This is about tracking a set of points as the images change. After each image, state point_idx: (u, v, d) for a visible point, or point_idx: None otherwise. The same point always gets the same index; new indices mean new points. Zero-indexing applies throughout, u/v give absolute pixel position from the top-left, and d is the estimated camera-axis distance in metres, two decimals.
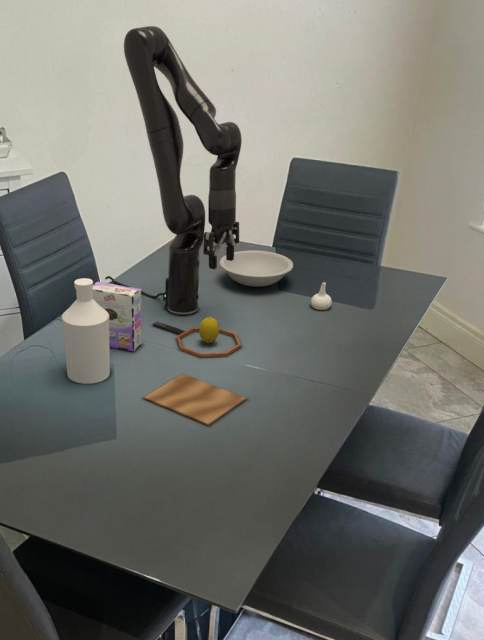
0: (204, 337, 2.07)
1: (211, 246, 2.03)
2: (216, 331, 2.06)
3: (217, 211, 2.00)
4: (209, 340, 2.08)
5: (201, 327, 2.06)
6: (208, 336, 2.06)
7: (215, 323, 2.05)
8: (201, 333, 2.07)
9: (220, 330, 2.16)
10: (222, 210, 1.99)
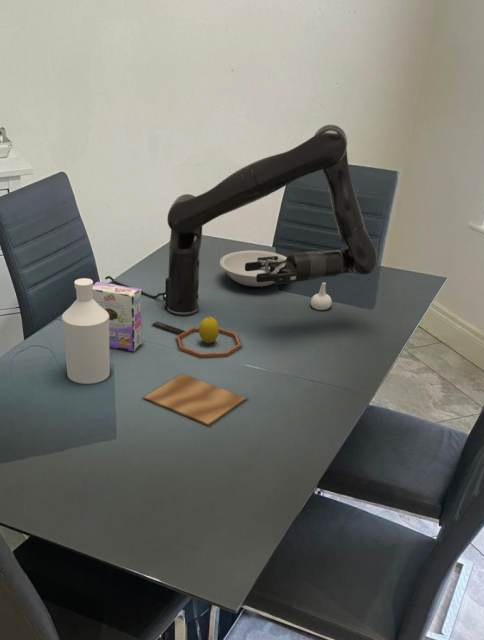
0: (204, 337, 2.07)
1: None
2: (216, 331, 2.06)
3: (308, 274, 2.02)
4: (209, 340, 2.08)
5: (201, 327, 2.06)
6: (208, 336, 2.06)
7: (215, 323, 2.05)
8: (201, 333, 2.07)
9: (220, 330, 2.16)
10: (307, 278, 2.03)
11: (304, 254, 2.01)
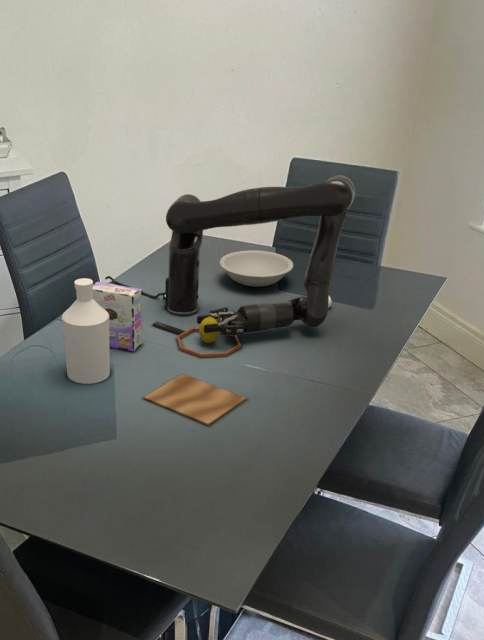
0: (204, 337, 2.07)
1: None
2: None
3: (259, 326, 2.07)
4: (209, 340, 2.08)
5: (201, 327, 2.06)
6: (208, 336, 2.06)
7: None
8: (201, 333, 2.07)
9: None
10: (258, 329, 2.09)
11: (255, 306, 2.07)
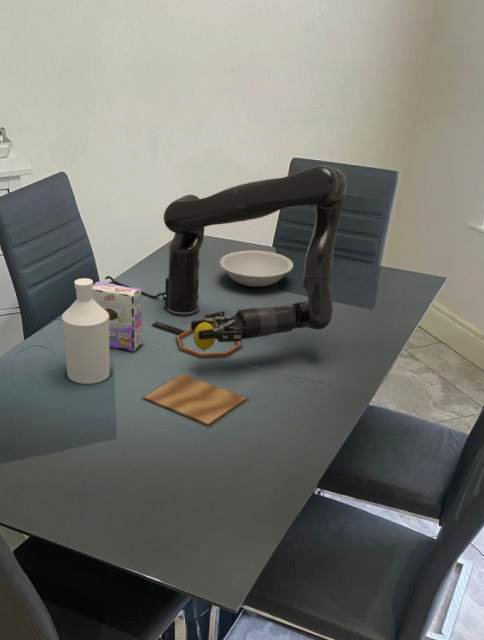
0: (199, 344, 1.91)
1: None
2: None
3: (258, 332, 1.91)
4: (204, 347, 1.91)
5: (195, 333, 1.90)
6: (203, 343, 1.90)
7: None
8: (196, 340, 1.91)
9: None
10: (258, 335, 1.93)
11: (254, 310, 1.91)
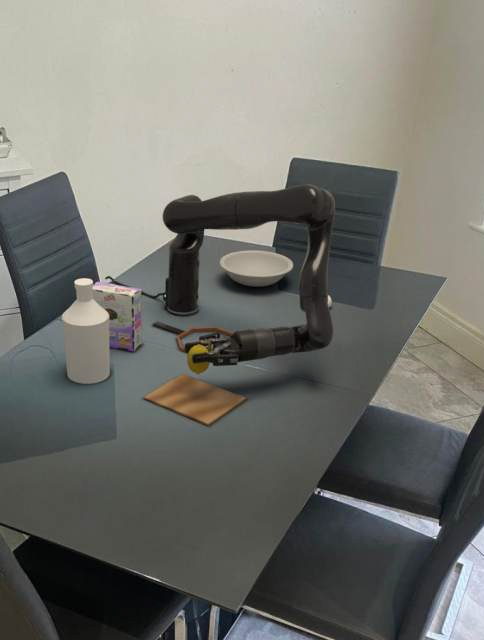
0: (193, 368, 1.81)
1: None
2: None
3: (255, 355, 1.81)
4: (199, 371, 1.81)
5: (189, 356, 1.80)
6: (197, 367, 1.80)
7: None
8: (189, 363, 1.81)
9: (220, 330, 2.16)
10: (255, 358, 1.82)
11: (251, 332, 1.80)
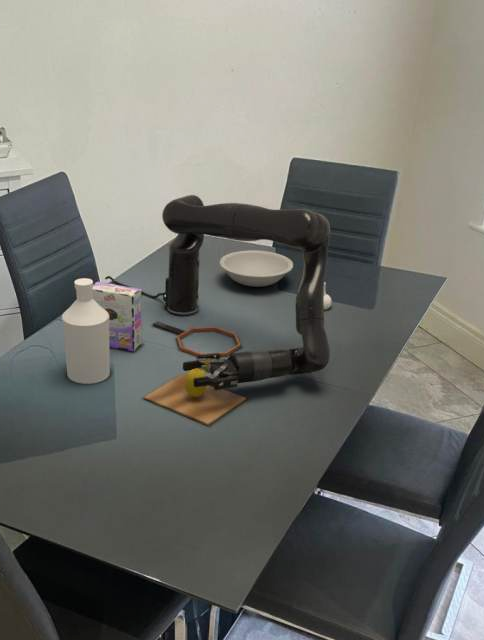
0: (190, 391, 1.82)
1: None
2: None
3: (252, 377, 1.82)
4: (196, 394, 1.82)
5: (187, 380, 1.81)
6: (195, 390, 1.81)
7: (203, 376, 1.80)
8: (187, 387, 1.82)
9: (220, 330, 2.16)
10: (252, 380, 1.83)
11: (247, 354, 1.81)
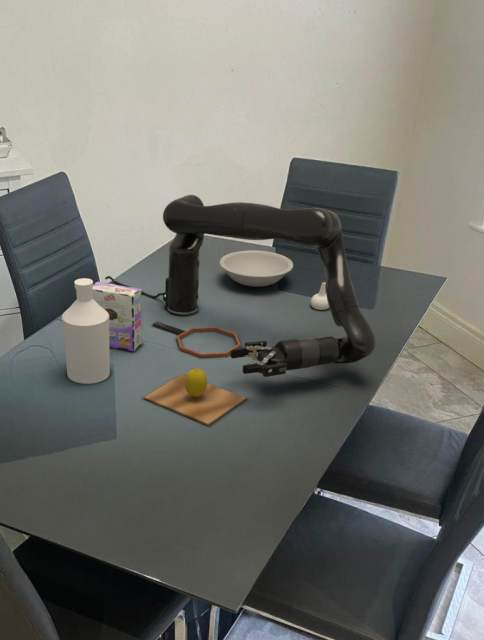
0: (190, 391, 1.82)
1: None
2: (204, 385, 1.81)
3: (300, 364, 1.83)
4: (196, 394, 1.82)
5: (187, 380, 1.81)
6: (195, 390, 1.81)
7: (203, 376, 1.80)
8: (187, 387, 1.82)
9: (220, 330, 2.16)
10: (299, 367, 1.85)
11: (295, 342, 1.83)
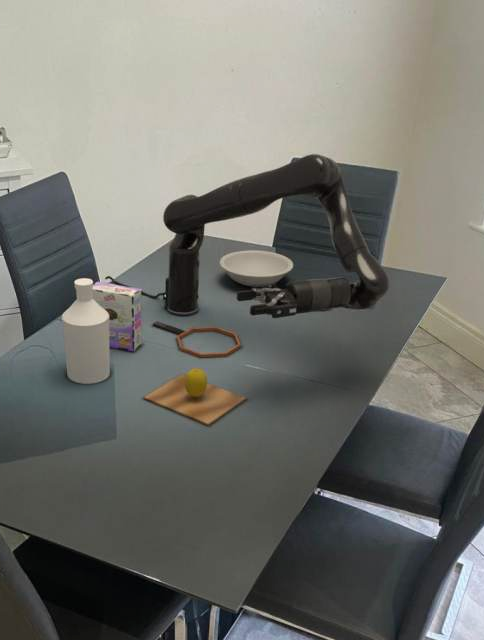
0: (190, 391, 1.82)
1: None
2: (204, 385, 1.81)
3: (310, 306, 1.74)
4: (196, 394, 1.82)
5: (187, 380, 1.81)
6: (195, 390, 1.81)
7: (203, 376, 1.80)
8: (187, 387, 1.82)
9: (220, 330, 2.16)
10: (309, 310, 1.75)
11: (306, 282, 1.73)
